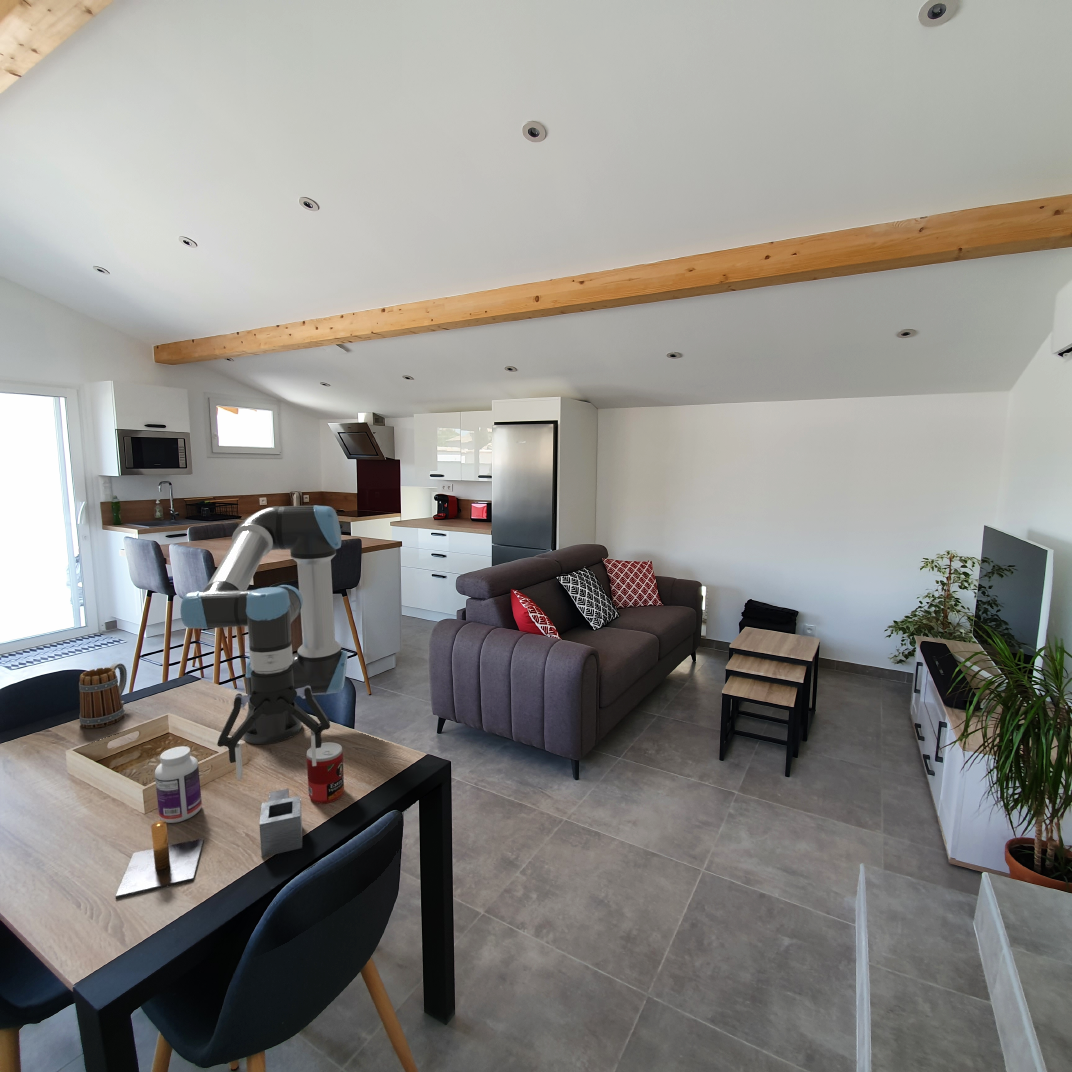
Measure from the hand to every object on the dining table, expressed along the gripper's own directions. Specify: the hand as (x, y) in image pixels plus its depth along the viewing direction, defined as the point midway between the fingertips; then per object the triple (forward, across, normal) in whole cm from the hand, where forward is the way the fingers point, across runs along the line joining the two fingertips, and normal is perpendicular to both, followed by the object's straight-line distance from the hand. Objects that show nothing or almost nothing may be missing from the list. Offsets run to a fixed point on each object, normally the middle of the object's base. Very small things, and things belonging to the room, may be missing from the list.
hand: (277, 769), depth 115 cm
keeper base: (+16, -21, 0) cm, 26 cm away
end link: (+16, 0, 0) cm, 16 cm away
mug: (+15, -50, +80) cm, 96 cm away
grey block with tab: (+16, -1, +9) cm, 18 cm away
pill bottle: (+16, -21, +18) cm, 32 cm away
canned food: (+16, +9, +14) cm, 23 cm away
